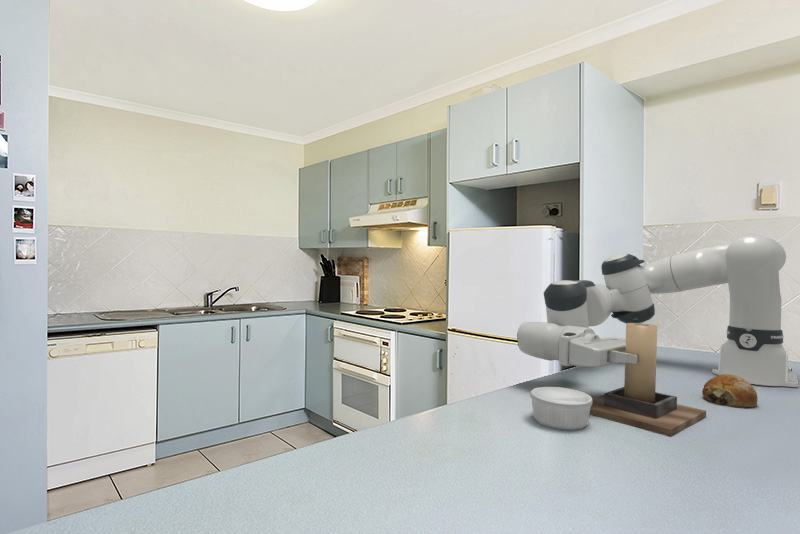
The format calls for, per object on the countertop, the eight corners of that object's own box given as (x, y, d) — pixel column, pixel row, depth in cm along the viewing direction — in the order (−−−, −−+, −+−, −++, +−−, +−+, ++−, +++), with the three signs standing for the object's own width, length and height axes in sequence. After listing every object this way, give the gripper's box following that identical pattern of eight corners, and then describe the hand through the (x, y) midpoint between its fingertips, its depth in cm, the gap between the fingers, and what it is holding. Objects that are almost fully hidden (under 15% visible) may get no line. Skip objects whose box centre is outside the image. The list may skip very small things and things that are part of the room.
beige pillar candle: (631, 393, 97) (633, 321, 97) (659, 399, 93) (661, 325, 92) (619, 397, 93) (621, 323, 93) (648, 404, 89) (650, 326, 89)
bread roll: (760, 426, 98) (777, 393, 98) (716, 404, 98) (733, 371, 98) (727, 411, 108) (743, 381, 108) (688, 391, 108) (704, 361, 108)
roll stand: (616, 395, 106) (616, 379, 106) (706, 416, 92) (706, 398, 92) (575, 409, 94) (575, 391, 94) (671, 436, 80) (671, 415, 80)
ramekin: (571, 437, 79) (572, 407, 79) (517, 419, 88) (518, 392, 88) (603, 424, 86) (604, 396, 86) (550, 409, 95) (551, 383, 95)
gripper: (603, 355, 109) (665, 366, 99) (555, 366, 96) (621, 380, 86) (603, 329, 109) (666, 337, 99) (556, 336, 96) (622, 346, 86)
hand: (645, 357), depth 92 cm, fingers closed on beige pillar candle, 6 cm apart
